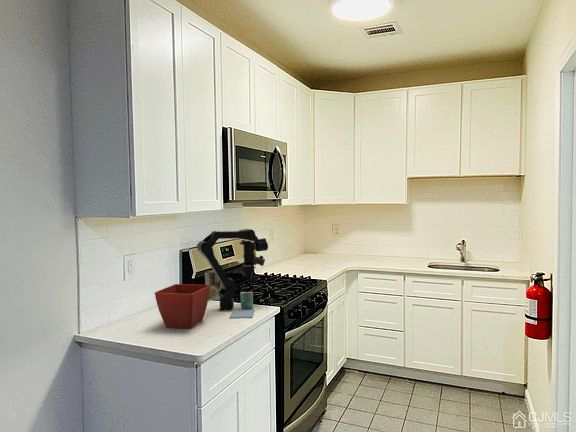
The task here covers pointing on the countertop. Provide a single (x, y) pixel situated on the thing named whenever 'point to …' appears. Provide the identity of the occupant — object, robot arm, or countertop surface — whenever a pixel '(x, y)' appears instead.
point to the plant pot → (182, 304)
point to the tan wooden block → (246, 300)
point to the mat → (242, 314)
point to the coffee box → (213, 285)
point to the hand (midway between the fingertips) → (249, 281)
